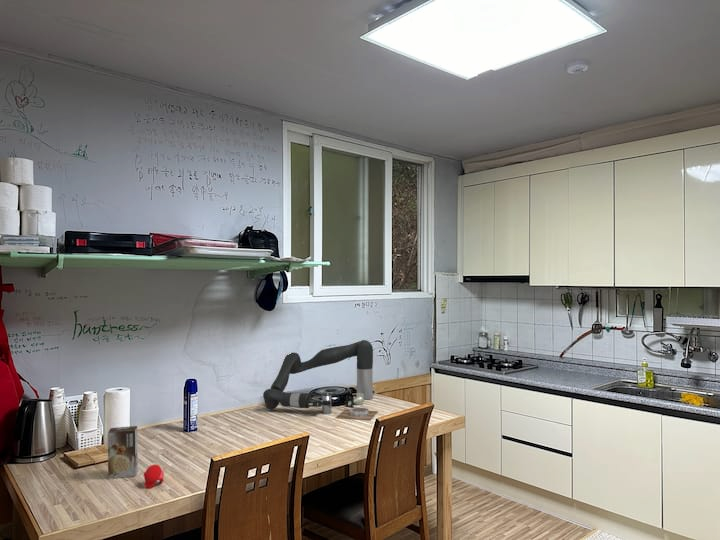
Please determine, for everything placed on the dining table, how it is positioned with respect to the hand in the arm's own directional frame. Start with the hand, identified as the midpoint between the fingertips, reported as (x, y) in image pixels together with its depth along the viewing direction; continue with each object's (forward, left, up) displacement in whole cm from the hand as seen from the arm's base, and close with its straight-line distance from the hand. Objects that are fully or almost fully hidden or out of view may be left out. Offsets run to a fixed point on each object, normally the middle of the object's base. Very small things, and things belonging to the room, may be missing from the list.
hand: (331, 402), depth 257 cm
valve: (-19, +8, -7) cm, 21 cm away
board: (0, +13, -7) cm, 15 cm away
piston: (0, -3, -7) cm, 7 cm away
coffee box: (+93, -48, -7) cm, 105 cm away
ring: (0, +14, -6) cm, 15 cm away
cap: (+98, -32, -7) cm, 103 cm away
